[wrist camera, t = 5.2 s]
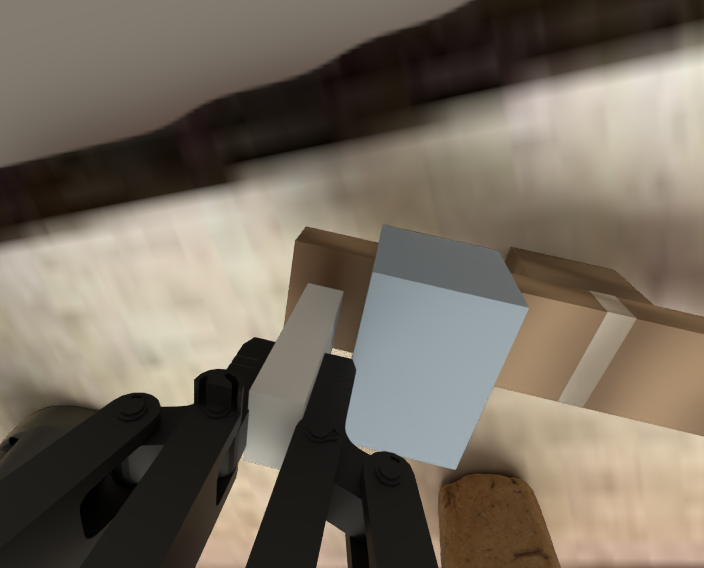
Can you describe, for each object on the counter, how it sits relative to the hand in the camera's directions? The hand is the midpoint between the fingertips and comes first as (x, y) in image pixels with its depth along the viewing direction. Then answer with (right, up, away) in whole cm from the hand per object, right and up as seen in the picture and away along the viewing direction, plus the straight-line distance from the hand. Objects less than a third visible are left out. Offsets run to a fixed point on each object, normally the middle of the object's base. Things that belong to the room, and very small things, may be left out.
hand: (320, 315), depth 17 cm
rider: (+4, 0, +2) cm, 5 cm away
